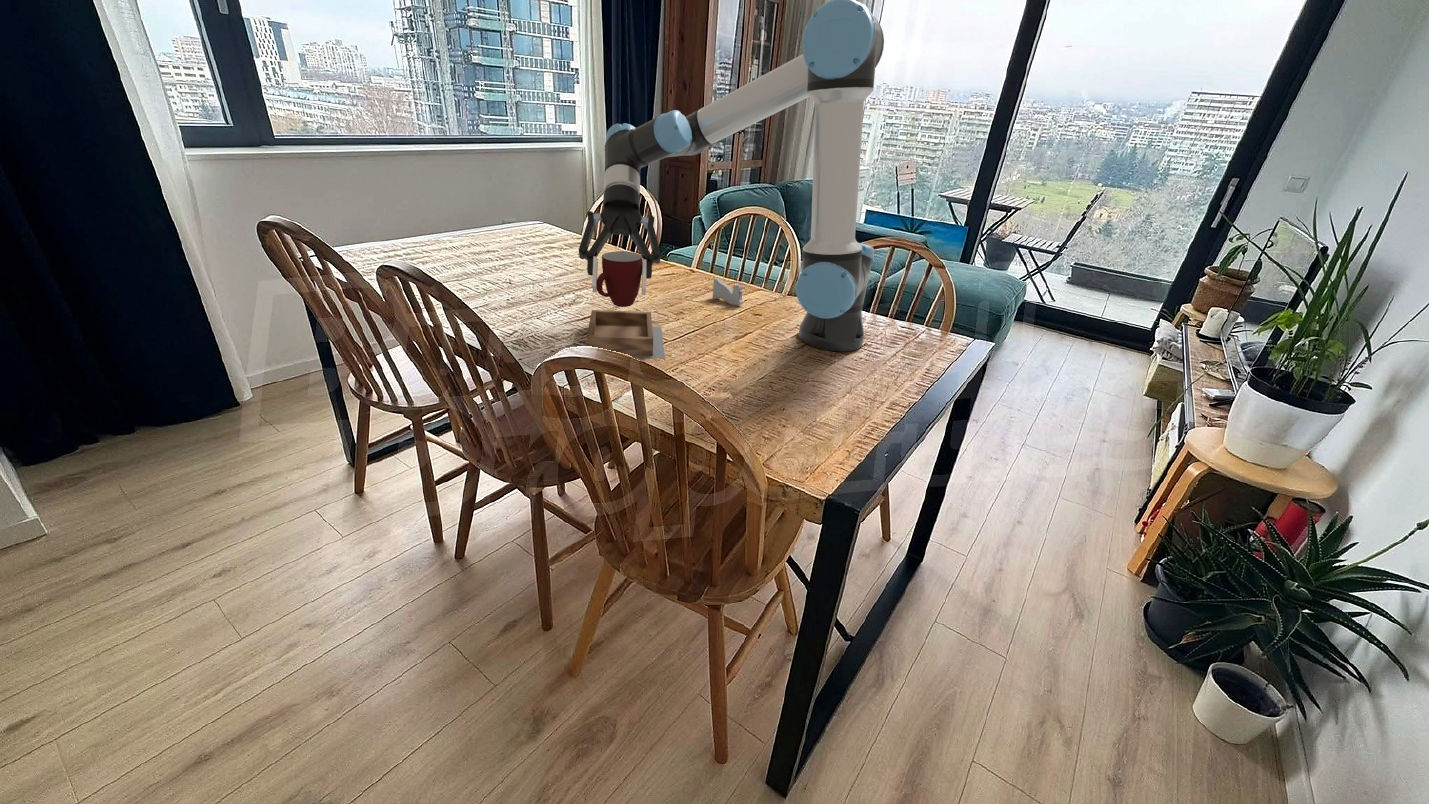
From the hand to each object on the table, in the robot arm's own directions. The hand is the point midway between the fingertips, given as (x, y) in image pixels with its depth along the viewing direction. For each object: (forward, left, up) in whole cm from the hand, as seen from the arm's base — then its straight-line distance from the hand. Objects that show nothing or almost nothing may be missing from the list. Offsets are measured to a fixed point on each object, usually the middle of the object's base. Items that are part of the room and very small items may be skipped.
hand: (619, 290), depth 113 cm
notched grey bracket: (-28, -35, -13) cm, 47 cm away
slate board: (-1, -3, -13) cm, 13 cm away
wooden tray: (0, -3, -12) cm, 12 cm away
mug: (0, -3, -4) cm, 6 cm away
